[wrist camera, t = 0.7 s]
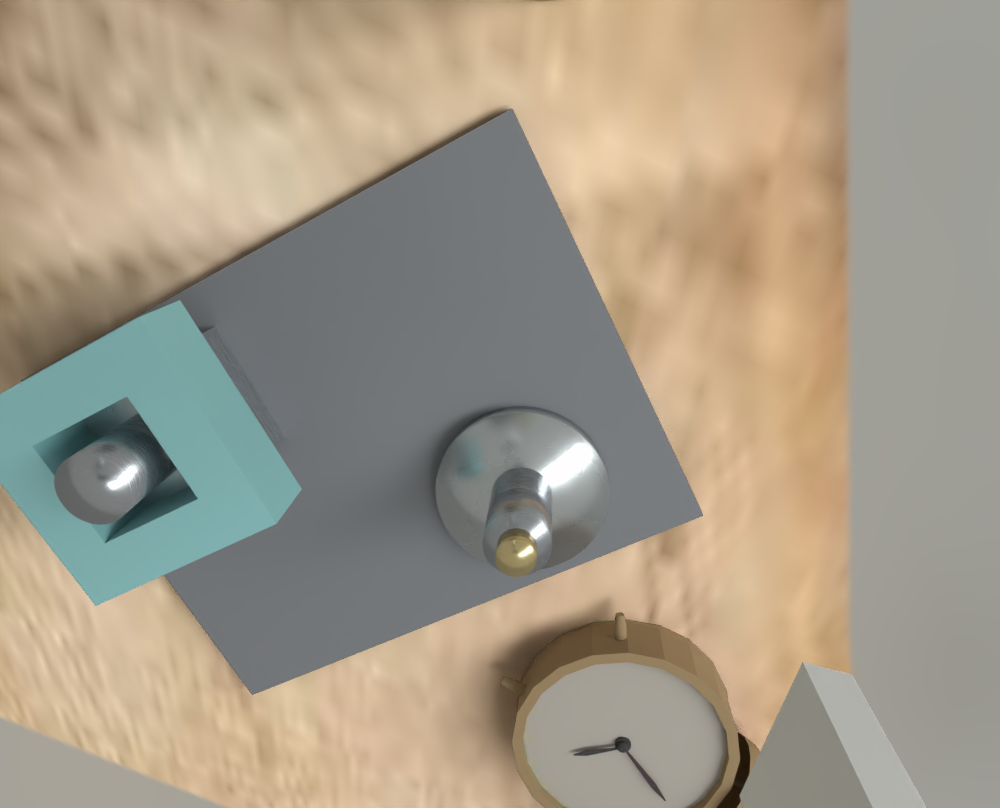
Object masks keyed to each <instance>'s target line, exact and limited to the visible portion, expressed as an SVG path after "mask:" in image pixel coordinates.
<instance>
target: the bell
mask: <svg viewBox="0 0 1000 808" xmlns="http://www.w3.org/2000/svg"><path fill="white" fill-rule="evenodd" d="M435 490H436V502H437V507H438V511H439V514H440V517H441V519H442V521H443V523H444V525H445V527H446V529H447V530H448V532H449V533H450V535H451V536H452V537H453V538H454V540H455V541H456V542H457V543H458V544H459V545H460V546H461V547H462V548H463V549H465V550H466V551H467V552H468V553H470V554H471V555H473V556H474V557H476V558H478V559H480V560H482V561H483V562H485V563H488V564H491V565H492V566H493V567H494V568H495V569H497V570H498V571H500V572H502V573H504V574H506V575H508V576H512V577H522V576H525V575H529V574H532V573H534V572H537V571H538V570H540V569H545V568H550V567H553V566H556V565H559V564H561V563H563V562H565V561H567V560H569V559H571V558H573V557H574V556H576V555H577V554H579V553H580V552H581V551H582V550H584V549H585V548H586V547H587V546H588V545H589V544H590V543H591V542H592V541H593V539H594V538H595V537H596V535H597V534H598V532H599V531H600V529H601V527H602V525H603V523H604V520H605V517H606V515H607V511H608V506H609V494H610V491H609V482H608V475H607V470H606V466H605V463H604V460H603V458H602V455H601V453H600V451H599V449H598V448H597V446H596V444H595V443H594V442H593V440H592V439H591V438H590V436H589V435H588V434H587V433H586V432H585V431H584V430H583V429H582V428H581V427H579V426H578V425H577V424H575V423H574V422H572V421H571V420H569V419H568V418H566V417H564V416H562V415H560V414H557V413H555V412H552V411H550V410H546V409H542V408H537V407H529V406H514V407H505V408H501V409H497V410H493V411H491V412H488V413H486V414H483V415H481V416H479V417H478V418H476V419H474V420H473V421H471V422H470V423H468V424H467V425H466V426H465V427H463V428H462V429H461V430H460V431H459V432H458V433H457V434H456V436H455V437H454V438H453V440H452V441H451V442H450V444H449V446H448V447H447V449H446V451H445V454H444V456H443V459H442V461H441V464H440V467H439V470H438V474H437V478H436V488H435Z"/></svg>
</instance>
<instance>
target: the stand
mask: <svg viewBox="0 0 1000 808" xmlns="http://www.w3.org/2000/svg"><path fill="white" fill-rule="evenodd" d="M202 335H203V336H204V338H205V340H206V341H207V343H208V344H209V346H210V347H211V349H212V350H213V352H214V354H215V355H216V357H217V358H218V360H219V361H220V363H221V364H222V366H223V368H224V369H225V371H226V372H227V374H228V375H229V377H230V378H231V380H232V381H233V383H234V385H235V386H236V388H237V389H238V391H239V392H240V394H241V395H242V397H243V399H244V400H245V402H246V403H247V405H248V406H249V408H250V409H251V411H252V412H253V414H254V416H255V417H256V419H257V420H258V422H259V423H260V425H261V426H262V428H263V430H264V431H265V433H266V434H267V436H268V437H269V439H270V440H271V442H272V444H273V445H274V447H275V448H276V449H277V447H278V446H279V445H280V444H281V443H282V442H283V441H284V440H285V439H286V437H285V435H284V433H283V432H282V430H281V429H280V427H279V426H278V424H277V422H276V421H275V419H274V418H273V416H272V415H271V413H270V411H269V410H268V408H267V407H266V405H265V404H264V402H263V400H262V399H261V397H260V396H259V394H258V393H257V391H256V389H255V388H254V386H253V385H252V383H251V382H250V380H249V378H248V377H247V375H246V374H245V372H244V371H243V369H242V367H241V366H240V364H239V363H238V361H237V360H236V358H235V356H234V355H233V353H232V352H231V350H230V349H229V347H228V345H227V344H226V342H225V341H224V339H223V338H222V336H221V335H220V333H219V331H218V330H217V328H216V327H213V328H211V329H210V330H208V331H206V332H204V333H202ZM82 421H83V422H84V424H85V425H86V427H87V428H88V429H89V431H90V432H91V434H92V435H93V436H94V438H95V439H96V441H94V442H92V443H91V444H89V445H88V446H86V447H85V448H83V449H82V450H80V451H78V452H77V453H75V454H74V455H72V456H71V457H69V458H68V459H66V460H65V461H63V462H62V463H61V464H60V466H59V467H58V469H57V471H56V473H55V478H54V485H55V491H56V494H57V496H58V498H59V500H60V502H61V503H62V505H63V506H64V507H65V508H66V509H67V510H68V511H69V512H70V513H71V514H72V515H74V516H75V517H77V518H78V519H80V520H82V521H85V522H87V523H91V524H97V525H104V524H110V523H113V522H115V521H117V520H119V519H120V518H121V517H122V516H124V515H125V514H126V513H127V512H128V511H129V510H131V509H132V508H133V507H134V506H135V505H136V504H138V503H139V502H140V501H141V503H142V504H143V506H144V507H145V508H146V507H148V506H150V505H152V504H154V503H156V502H158V501H160V500H162V499H164V498H166V497H168V496H171V495H173V494H175V493H177V492H179V491H181V490H183V489H185V488H187V487H189V485H188V484H187V482H186V481H185V479H184V478H183V476H182V475H181V473H180V472H179V471H178V469H177V468H176V466H175V465H174V463H173V462H172V460H171V459H170V458H169V456H168V455H167V453H166V452H165V450H164V449H163V447H162V446H161V445H160V443H159V442H158V440H157V439H156V437H155V436H154V435H153V433H152V432H151V430H150V429H149V427H148V426H147V424H146V423H145V422H144V420H143V419H142V417H141V416H140V414H139V413H138V411H137V410H136V409H135V407H134V406H133V404H132V403H131V401H130V400H129V399H128V397H125V398H123V399H121V400H119V401H117V402H115V403H113V404H112V405H110V406H108V407H106V408H104V409H102V410H100V411H98V412H96V413H94V414H93V415H91V416H89V417H87V418H85V419H83V420H82Z"/></svg>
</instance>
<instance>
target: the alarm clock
mask: <svg viewBox="0 0 1000 808" xmlns="http://www.w3.org/2000/svg"><path fill="white" fill-rule="evenodd" d="M501 685H502V686H504V687H505V688H507V689H508V690H509V691H511V692H513V693H515V694H517V695H519V697H518V702H517V716H516V721H515V727H514V732H513V737H512V746H513V751H514V756H515V762H516V767H517V771H518V773H519V775H520V776H521V778H522V780H523V781H524V783H525V785H526V786H527V788H528V790H529V792H530V793H531V795H532V797H533V798H534V799H535V800H537V801H538V802H539V803H540V804H541V805H542V806H543V807H544V808H743V806H742V803H741V799H740V796H739V795H740V793H741V791H742V789H743V787H744V785H745V783H746V781H747V779H748V776H749V774H750V772H751V770H752V768H753V766H754V764H755V762H756V760H757V758H758V755H759V753H760V751H759V749H758V748H757V746H756V745H755V744H754V743H753V742H751V741H750V740H749V739H748V738H746V737H745V736H743V735H742V734H740V733H738V731H737V727H736V724H735V722H734V720H733V717H732V713H731V709H730V706H729V702H728V696H727V691H726V688H725V686H724V684H723V682H722V680H721V678H720V676H719V674H718V672H717V670H716V668H715V666H714V664H713V662H712V661H711V660H710V659H709V658H708V657H707V656H706V655H705V654H704V653H703V652H702V651H701V650H700V649H698V648H697V647H696V646H695V645H694V644H693V643H692V642H691V641H690V640H689V639H687V638H685V637H683V636H681V635H679V634H677V633H675V632H673V631H671V630H669V629H667V628H664V627H662V626H660V625H655V624H649V623H643V622H637V621H631V620H625V617H624V614H623V613H616V617H615V621H606V622H596V623H590V624H588V625H585V626H582V627H580V628H577V629H575V630H572V631H570V632H567V633H564V634H562V635H560V636H559V637H558V638H556V639H555V640H554V641H553V642H551V643H550V644H549V645H548V646H546V647H545V648H544V649H542V650H541V651H540V652H539V653H537V655H536V656H535V658H534V659H533V661H532V663H531V664H530V666H529V667H528V669H527V671H526V672H525V674H524V675H523V677H522V681H521V682H519V681H516V680H514V679H510V678H506V677H503V680H502V682H501Z"/></svg>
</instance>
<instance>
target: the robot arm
mask: <svg viewBox="0 0 1000 808" xmlns="http://www.w3.org/2000/svg"><path fill="white" fill-rule="evenodd" d="M739 796H740V799H741V803H742V806H743V808H926V806H925V804H924V802H923V801H922V799H921V797H920V795H919V793H918V792H917V790H916V788H915V786H914V784H913V783H912V781H911V779H910V777H909V776H908V774H907V772H906V770H905V768H904V767H903V765H902V763H901V761H900V760H899V758H898V756H897V754H896V753H895V751H894V749H893V747H892V745H891V744H890V742H889V740H888V738H887V736H886V735H885V733H884V731H883V729H882V728H881V726H880V724H879V722H878V721H877V719H876V717H875V715H874V713H873V712H872V710H871V708H870V706H869V705H868V703H867V701H866V699H865V698H864V695H863V694H862V692H861V690H860V688H859V687H858V685H857V683H856V681H855V679H854V678H853V676H852V674H848V673H844V672H840V671H836V670H832V669H828V668H824V667H820V666H816V665H812V664H808V663H804V662H803V663H802V665H801V667H800V669H799V671H798V673H797V675H796V678H795V680H794V682H793V684H792V686H791V688H790V690H789V692H788V694H787V696H786V699H785V701H784V703H783V705H782V707H781V709H780V711H779V713H778V715H777V718H776V720H775V722H774V724H773V726H772V728H771V730H770V732H769V734H768V736H767V739H766V741H765V743H764V745H763V747H762V749H761V751H760V753H759V755H758V758H757V760H756V762H755V764H754V766H753V768H752V770H751V772H750V774H749V776H748V779H747V781H746V783H745V785H744V787H743V789H742V791H741V793H740V795H739Z"/></svg>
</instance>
